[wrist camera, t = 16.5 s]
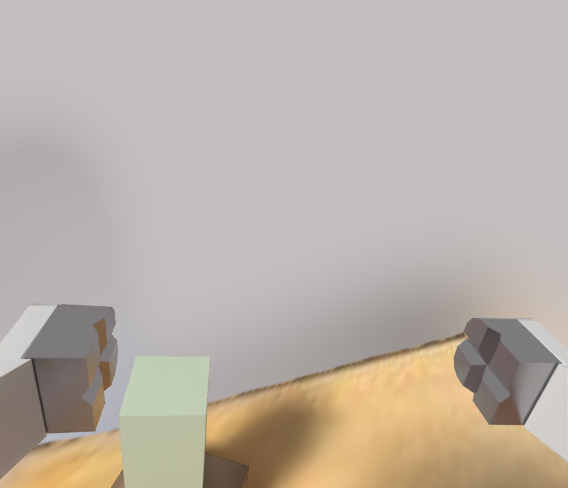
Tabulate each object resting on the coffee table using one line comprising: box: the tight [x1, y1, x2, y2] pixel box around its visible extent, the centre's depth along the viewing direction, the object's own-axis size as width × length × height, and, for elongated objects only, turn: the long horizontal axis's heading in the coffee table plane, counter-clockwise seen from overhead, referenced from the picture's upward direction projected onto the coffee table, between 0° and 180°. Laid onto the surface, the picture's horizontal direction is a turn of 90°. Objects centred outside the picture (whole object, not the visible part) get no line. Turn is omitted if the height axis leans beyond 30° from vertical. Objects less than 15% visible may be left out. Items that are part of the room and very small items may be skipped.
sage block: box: [119, 356, 210, 488], centre depth 29 cm, size 5×5×13 cm
